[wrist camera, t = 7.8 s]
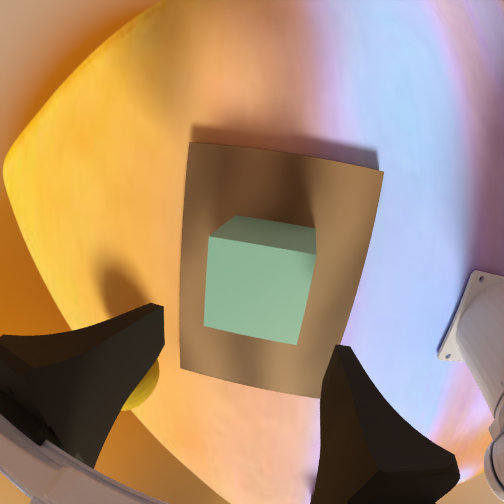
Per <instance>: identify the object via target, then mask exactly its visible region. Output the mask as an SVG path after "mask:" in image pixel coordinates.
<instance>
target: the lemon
mask: <svg viewBox="0 0 504 504" xmlns="http://www.w3.org/2000/svg"><path fill="white" fill-rule="evenodd" d="M158 378H159V363H158V360H156V361H155V363H154V364H153V366H152V367H151V368H150V370H149V371H148V372H147V374H146V375H145V376H144V378H143V379H142V380H141V382H140V383H139V384H138V386H137V387H136V388H135V390H134V391H133V392H132V394H131V395H130V396H129V398H128V399H127V401H126V402H125V404H124V406H123V407H122V409H121V411H125V410H130V409H133V408H135V407H137V406H139V405H140V404H142V403H143V402H144V401H145V400H146V399H147V398H148V397H149V396H150V395H151V393H152V392H153V391H154V389H155V387H156V385H157V382H158Z"/></svg>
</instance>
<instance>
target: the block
mask: <svg viewBox="0 0 504 504" xmlns="http://www.w3.org/2000/svg"><path fill="white" fill-rule="evenodd" d="M316 256H317V249H316V228H311V227H305V226H299V225H294V224H288V223H282V222H276V221H269V220H263V219H257V218H251V217H244V216H238V215H235V216H233V217H232V218H231V219H230V220H228V221H227V222H226V223H225V224H223V225H222V226H221V227H220V228H218V229H217V230H216V231H215V232H213V233H212V234H211V235H210V236H209V241H208V256H207V272H206V289H205V309H204V326H206V327H211V328H215V329H219V330H224V331H228V332H232V333H237V334H242V335H246V336H251V337H256V338H261V339H266V340H271V341H276V342H282V343H287V344H293V345H297V341H298V337H299V333H300V329H301V325H302V321H303V316H304V312H305V308H306V303H307V299H308V294H309V290H310V285H311V280H312V276H313V271H314V266H315V261H316Z"/></svg>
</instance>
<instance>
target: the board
mask: <svg viewBox="0 0 504 504" xmlns="http://www.w3.org/2000/svg"><path fill="white" fill-rule="evenodd" d="M383 175H384V172H383V171H379V170H375V169H370V168H366V167H361V166H357V165H352V164H347V163H342V162H337V161H332V160H327V159H321V158H315V157H310V156H304V155H297V154H291V153H284V152H277V151H270V150H263V149H255V148H246V147H237V146H227V145H217V144H205V143H191V142H190V143H189V152H188V162H187V173H186V185H185V198H184V212H183V228H182V248H181V276H180V368H182V369H185V370H189V371H192V372H196V373H199V374H203V375H206V376H210V377H214V378H218V379H222V380H226V381H230V382H234V383H238V384H243V385H247V386H251V387H256V388H261V389H266V390H271V391H276V392H281V393H287V394H293V395H299V396H305V397H311V398H318V399H320V396H321V388H322V380H323V378H324V375H325V372H326V370H327V367H328V364H329V362H330V359H331V356H332V353H333V350H334V348H335V345H336V344H337V345H340V343H341V340H342V337H343V334H344V331H345V328H346V325H347V322H348V319H349V316H350V312H351V309H352V306H353V303H354V299H355V296H356V292H357V289H358V285H359V282H360V278H361V275H362V271H363V267H364V263H365V259H366V255H367V251H368V247H369V243H370V239H371V235H372V230H373V226H374V221H375V217H376V212H377V207H378V202H379V197H380V192H381V186H382V181H383ZM235 215H238V216H244V217H251V218H257V219H263V220H269V221H276V222H282V223H288V224H294V225H299V226H305V227H311V228H316V249H317V256H316V261H315V266H314V271H313V276H312V280H311V285H310V290H309V294H308V299H307V303H306V308H305V312H304V316H303V321H302V325H301V329H300V333H299V337H298V341H297V345H293V344H287V343H282V342H276V341H271V340H266V339H261V338H256V337H251V336H246V335H242V334H237V333H232V332H228V331H224V330H219V329H215V328H211V327H206V326H204V309H205V289H206V272H207V256H208V241H209V236H210V235H211V234H212V233H213V232H215V231H216V230H217V229H218V228H220V227H221V226H222V225H223V224H225V223H226V222H227V221H228V220H230V219H231V218H232V217H233V216H235Z"/></svg>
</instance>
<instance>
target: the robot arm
mask: <svg viewBox="0 0 504 504" xmlns="http://www.w3.org/2000/svg"><path fill="white" fill-rule="evenodd" d="M481 276H482V278H481V280H479V278H480V277H481ZM164 345H165V340H164V306H160V305H157V304H153V303H150V304H147V305H144V306H141V307H139V308H136V309H134V310H131V311H129V312H127V313H124V314H122V315H119V316H117V317H114V318H112V319H109V320H106V321H103V322H101V323H98V324H95V325H92V326H89V327H85V328H82V329H77V330H73V331H69V332H63V333H56V334H50V335H40V336H39V335H38V336H16V335H2V336H1V337H0V472H1V473H2V474H3V475H4V476H5V477H6V478H7V479H9V480H10V481H11V482H12V483H13V484H14V485H15V486H16V487H18V488H19V489H20V490H21V491H22V492H23V493H24V494H26V495H27V496H28V497H29V498H30V499H32V500H31V502H30V503H29V504H169V503H166V502H164V501H161V500H158V499H156V498H153V497H151V496H148V495H146V494H144V493H141V492H139V491H136V490H134V489H132V488H130V487H128V486H125V485H123V484H121V483H119V482H117V481H115V480H113V479H111V478H109V477H107V476H105V475H103V474H102V473H100V472H98V471H96V470H94V467H95V464H96V461H97V459H98V456H99V454H100V451H101V449H102V447H103V444H104V442H105V440H106V438H107V436H108V433H109V432H110V430H111V428H112V426H113V424H114V422H115V420H116V418H117V416H118V414H119V413H120V411H121V409H122V407H123V406H124V404H125V402H126V401H127V399H128V398H129V396H130V395H131V394H132V392H133V391H134V390H135V388H136V387H137V386H138V384H139V383H140V382H141V380H142V379H143V378H144V376H145V375H146V374H147V372H148V371H149V370H150V368H151V367H152V366H153V364H154V363H155V361H156V360H157V358H158V356H159V354H160V352H161V350H162V348H163V347H164ZM447 354H448V355H447ZM446 355H447V356H446ZM437 357H438V359H439V360H445V361H462V362H465V363H466V364H467V366H468V368H469V370H470V372H471V373H472V375H473V377H474V379H475V381H476V383H477V385H478V387H479V389H480V391H481V392H482V394H483V396H484V398H485V400H486V402H487V405H488V407H489V409H490V411H491V413H492V415H493V417H494V421H493V423H492V424H491V426H490V427H489V432H490V434H491V437H492V439H493V441H492V442H491V443H490V444H489V446H488V447H487V450H486V452H485V456H484V470H485V476H486V479H487V483H488V485H489V487H490V489H491V490H492V492H493V493H494V494H495V496H496V497H498V498H499V499H500V500H502V501H503V502H504V276H499V275H495V274H491V273H487V272H482V271H478V270H475V271H473V272H472V273H471V275H470V278H469V281H468V284H467V287H466V289H465V292H464V295H463V297H462V300H461V302H460V305H459V307H458V310H457V312H456V315H455V317H454V319H453V322H452V324H451V326H450V328H449V331H448V333H447V335H446V337H445V339H444V341H443V343H442V345H441V347H440V349H439V351H438V354H437ZM320 439H321V446H320V459H319V466H318V473H317V479H316V485H315V491H314V496H313V500H312V504H436V503H435V502H436V501H437V500H439V499H440V498H442V497H443V496H444V495H445V494H447V493H448V492H449V491H450V490H451V489H452V488H453V487H454V486H455V485H456V484H457V483H458V481H459V479H460V473H459V469H458V465H457V461H456V458H455V455H454V454H452V453H450V452H449V451H447V450H445V449H443V448H442V447H440V446H438V445H436V444H435V443H433V442H432V441H430V440H429V439H428V438H426V437H425V436H423V435H422V434H421V433H419V432H418V431H417V430H416V429H414V428H413V427H412V426H411V425H410V424H409V423H408V422H407V421H405V420H404V419H403V418H402V417H401V416H400V415H399V414H398V413H397V412H396V411H395V410H394V408H393V407H392V406H391V405H390V404H389V403H388V402H387V401H386V399H385V398H384V397H383V396H382V394H381V393H380V392H379V390H378V389H377V388H376V386H375V385H374V384H373V382H372V381H371V379H370V378H369V376H368V375H367V373H366V372H365V370H364V369H363V367H362V365H361V364H360V362H359V360H358V359H357V357H356V355H355V354H354V352H353V350H352V349H351V347H350V346H343V345H337V344H336V345H335V348H334V350H333V353H332V356H331V359H330V362H329V364H328V367H327V370H326V372H325V375H324V378H323V380H322V388H321V397H320Z"/></svg>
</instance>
